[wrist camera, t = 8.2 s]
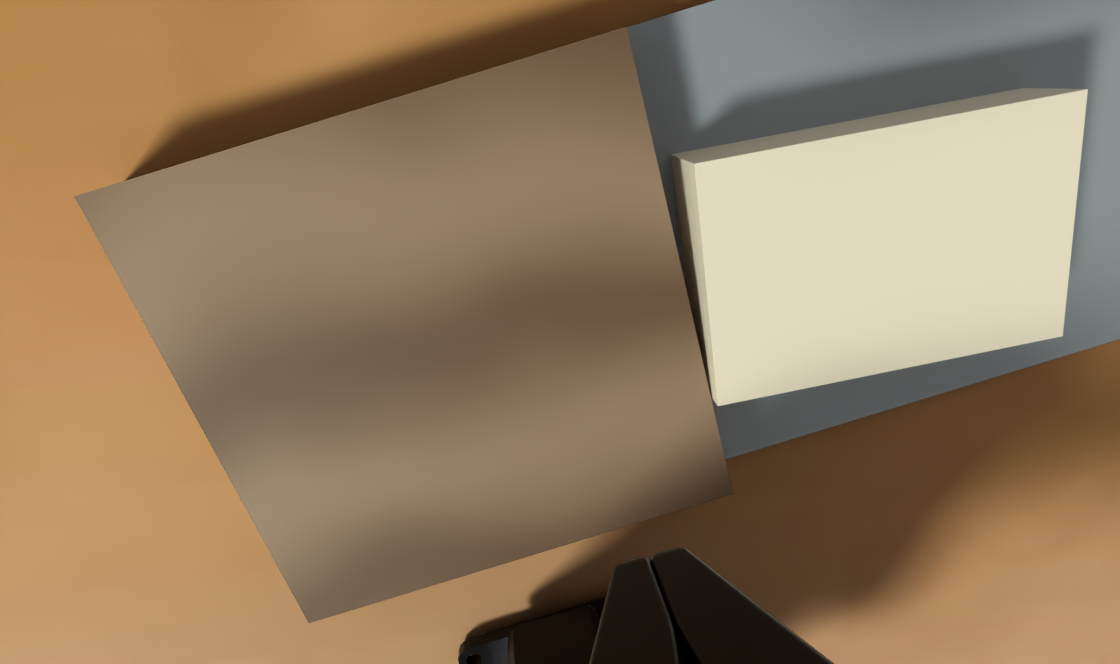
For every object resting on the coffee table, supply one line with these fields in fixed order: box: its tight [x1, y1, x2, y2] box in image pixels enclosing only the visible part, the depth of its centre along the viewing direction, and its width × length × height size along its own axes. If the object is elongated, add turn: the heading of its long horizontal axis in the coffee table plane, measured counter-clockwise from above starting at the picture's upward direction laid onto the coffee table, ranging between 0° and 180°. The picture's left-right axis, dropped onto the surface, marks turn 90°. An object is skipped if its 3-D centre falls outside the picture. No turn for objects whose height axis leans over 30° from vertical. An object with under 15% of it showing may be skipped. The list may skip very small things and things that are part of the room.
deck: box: [74, 27, 733, 623], centre depth 17 cm, size 12×12×2 cm
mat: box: [627, 0, 1120, 460], centre depth 18 cm, size 12×13×1 cm
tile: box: [671, 88, 1088, 406], centre depth 17 cm, size 6×9×2 cm, turn 100°
